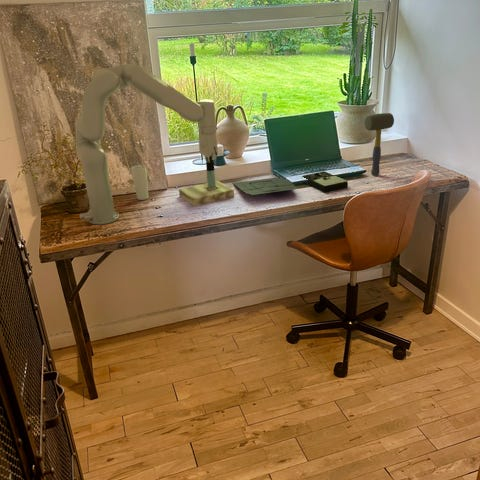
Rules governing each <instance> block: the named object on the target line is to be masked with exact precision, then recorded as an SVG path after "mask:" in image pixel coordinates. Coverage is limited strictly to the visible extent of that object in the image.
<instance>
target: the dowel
mask: <svg viewBox="0 0 480 480" xmlns="http://www.w3.org/2000/svg"><path fill="white" fill-rule="evenodd" d="M215 175H216V174H215V169H214V170H212V171H207V169H206V180H207V182H206V183H208V190H215V189H216V185H215V181H216V176H215Z"/></svg>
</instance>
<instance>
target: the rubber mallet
mask: <svg viewBox="0 0 480 480" xmlns="http://www.w3.org/2000/svg"><path fill="white" fill-rule="evenodd" d="M394 124H395V118H394V115H393V114H392V113H390V112H386V113H385V112H384V113H374V114H369V115H367V116H366V117H365V119H364V128H365V129H366V130H367V131H375V137H374V139H375V140H374V147H373V150H372V165H371V166H372V167H371V171H370V173H371V175H372V176H373V177H374V176H375V177H378V176H379V174H380V172H381V171H380V162H381V156H382V155H381V154H382V148H381V141H382V139H381V138H382V130H386V129H391V128H392V127H393V126H394Z"/></svg>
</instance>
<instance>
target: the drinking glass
mask: <svg viewBox="0 0 480 480" xmlns="http://www.w3.org/2000/svg"><path fill="white" fill-rule="evenodd" d="M130 170H131V171H130V172H131V177H132V181H133V186H134V189H135V194H136V199H137V200H138V201H145V200H148V199H149V197H150V196H149V183H148V171H147V167H146V165H145V164H140V165H139V164H138V165H133V166H131V168H130Z"/></svg>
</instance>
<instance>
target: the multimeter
mask: <svg viewBox="0 0 480 480" xmlns="http://www.w3.org/2000/svg"><path fill="white" fill-rule="evenodd" d="M302 177H304V178H306V179H308V180H309V181H308V184H309V185H308V186H309V187H311V188H313V189H315V190H318V191H320V192H321V193H324V194H326V193H327V194H328V193H331V191H332V192H335V191H341V190H345V189H348V186H349V182H348V180H346V179H343V178H341V177H338V176H336V175H335V174H332V173H329V172H327V171H325V170H324V171H318V172H313V173H310V174H303V175H302V176H301V178H302Z"/></svg>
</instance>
